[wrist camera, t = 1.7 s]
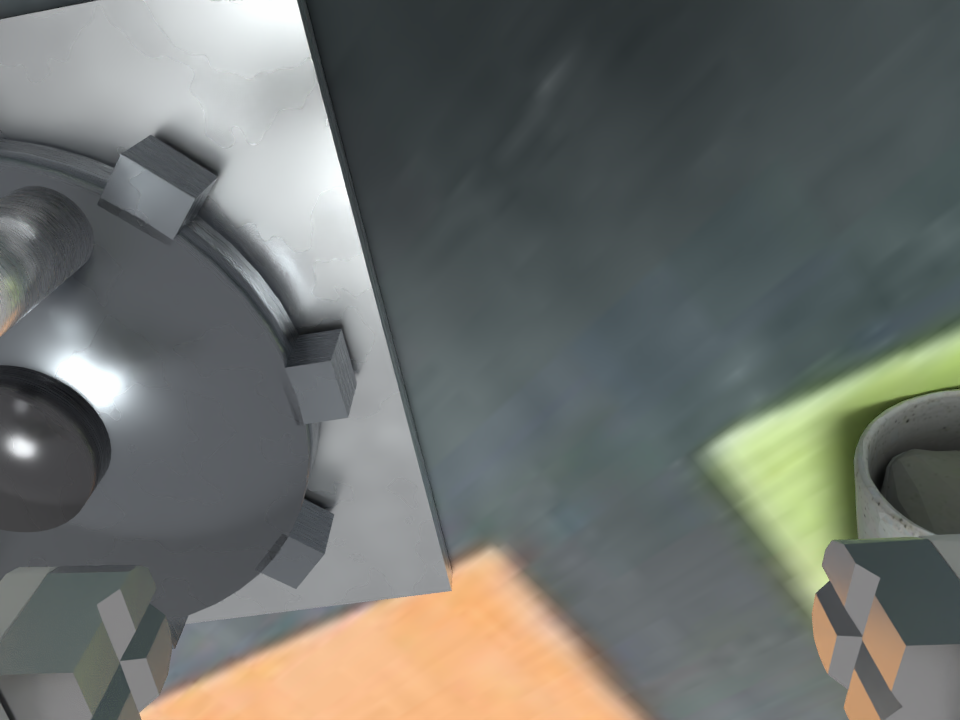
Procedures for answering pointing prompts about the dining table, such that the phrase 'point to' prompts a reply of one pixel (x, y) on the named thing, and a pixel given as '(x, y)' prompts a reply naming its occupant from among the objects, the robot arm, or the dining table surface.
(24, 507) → the sprocket
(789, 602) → the dining table surface
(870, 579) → the robot arm
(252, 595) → the base plate
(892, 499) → the ceramic mug
